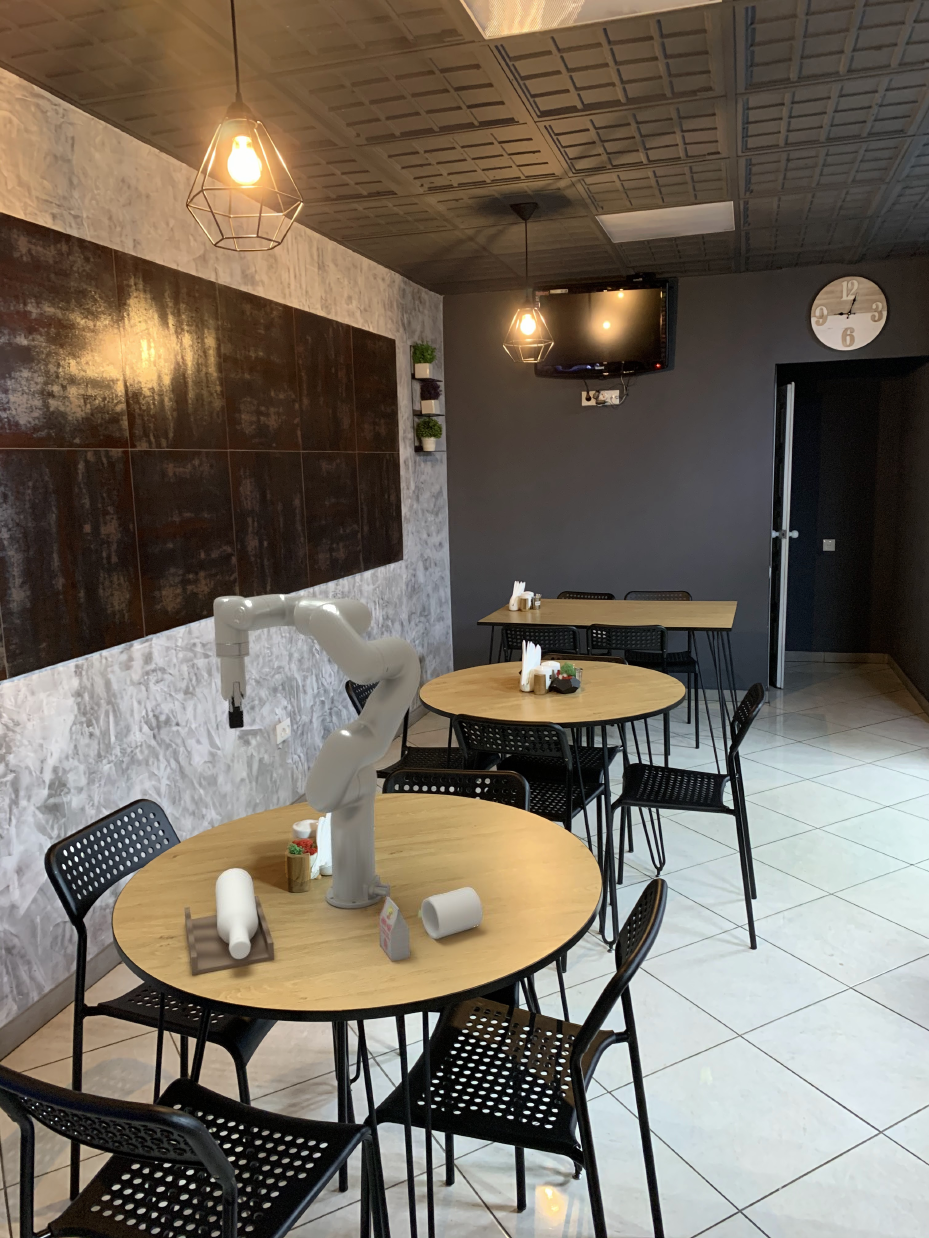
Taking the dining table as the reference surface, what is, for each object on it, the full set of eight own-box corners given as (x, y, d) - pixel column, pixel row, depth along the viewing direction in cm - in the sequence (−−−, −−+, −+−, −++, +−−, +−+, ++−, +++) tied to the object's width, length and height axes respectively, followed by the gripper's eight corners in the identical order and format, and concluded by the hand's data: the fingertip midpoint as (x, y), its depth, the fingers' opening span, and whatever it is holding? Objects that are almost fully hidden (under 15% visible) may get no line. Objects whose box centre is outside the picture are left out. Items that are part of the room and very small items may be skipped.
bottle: (257, 895, 193) (267, 961, 164) (221, 907, 191) (224, 977, 162) (247, 862, 191) (255, 923, 163) (210, 874, 189) (212, 938, 161)
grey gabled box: (397, 941, 174) (396, 893, 173) (409, 957, 168) (408, 907, 167) (379, 946, 173) (378, 897, 171) (391, 961, 167) (390, 911, 165)
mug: (483, 932, 178) (482, 894, 177) (440, 945, 172) (439, 907, 171) (452, 909, 188) (452, 874, 187) (411, 922, 182) (410, 885, 182)
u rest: (185, 923, 183) (184, 907, 183) (258, 911, 188) (257, 895, 188) (192, 975, 163) (191, 957, 162) (274, 959, 168) (273, 942, 168)
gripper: (212, 646, 209) (216, 722, 211) (218, 655, 195) (223, 736, 197) (245, 644, 211) (248, 718, 214) (253, 653, 197) (257, 733, 200)
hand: (236, 727), depth 205 cm, fingers closed
